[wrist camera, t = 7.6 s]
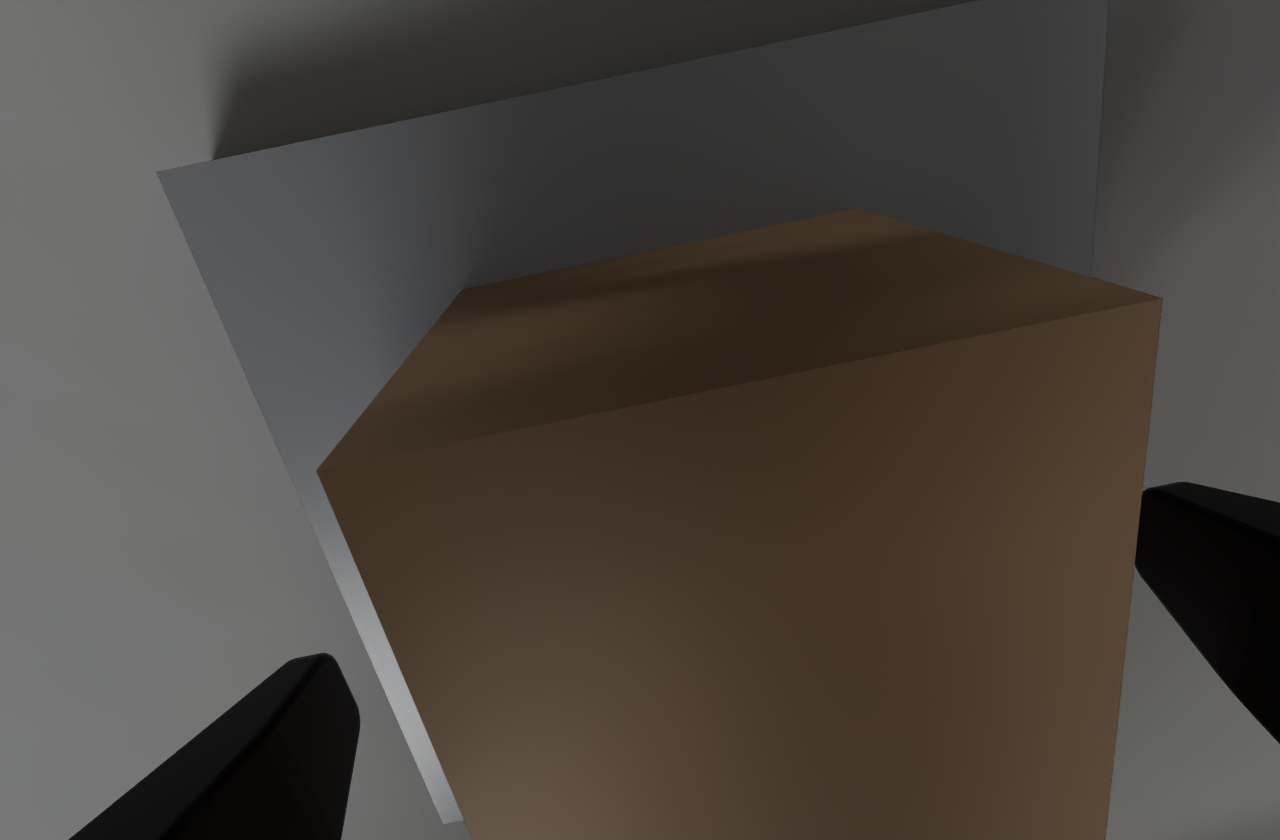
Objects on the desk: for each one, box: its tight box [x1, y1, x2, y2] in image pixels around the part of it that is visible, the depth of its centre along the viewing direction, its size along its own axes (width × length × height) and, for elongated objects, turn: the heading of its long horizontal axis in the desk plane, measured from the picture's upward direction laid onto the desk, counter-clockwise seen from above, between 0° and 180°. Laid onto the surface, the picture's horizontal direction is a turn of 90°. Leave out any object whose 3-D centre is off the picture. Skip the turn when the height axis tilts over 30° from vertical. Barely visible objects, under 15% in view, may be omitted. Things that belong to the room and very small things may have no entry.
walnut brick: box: [316, 208, 1163, 840], centre depth 8 cm, size 5×7×5 cm
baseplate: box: [156, 0, 1109, 824], centre depth 11 cm, size 11×11×1 cm
